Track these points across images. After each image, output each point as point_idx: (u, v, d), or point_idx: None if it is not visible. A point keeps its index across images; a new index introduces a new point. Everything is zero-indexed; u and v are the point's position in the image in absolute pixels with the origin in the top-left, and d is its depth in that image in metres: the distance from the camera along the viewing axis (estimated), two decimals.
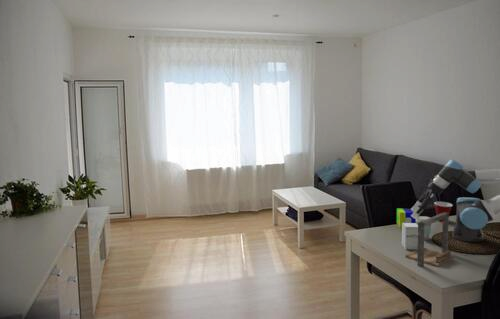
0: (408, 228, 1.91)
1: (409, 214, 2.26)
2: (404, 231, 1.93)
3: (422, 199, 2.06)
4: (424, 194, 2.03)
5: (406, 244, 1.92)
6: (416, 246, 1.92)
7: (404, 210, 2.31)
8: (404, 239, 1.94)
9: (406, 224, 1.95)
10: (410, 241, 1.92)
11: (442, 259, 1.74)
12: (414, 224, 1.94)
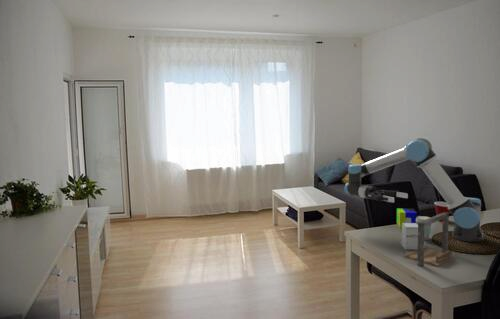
0: (408, 228, 1.91)
1: (409, 214, 2.26)
2: (404, 231, 1.93)
3: (391, 194, 2.12)
4: None
5: (406, 244, 1.92)
6: (416, 246, 1.92)
7: (404, 210, 2.31)
8: (404, 239, 1.94)
9: (406, 224, 1.95)
10: (410, 241, 1.92)
11: (442, 259, 1.74)
12: (414, 224, 1.94)
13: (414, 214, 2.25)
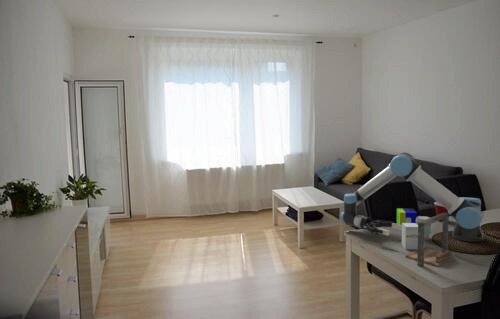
0: (408, 228, 1.91)
1: (409, 214, 2.26)
2: (404, 231, 1.93)
3: (387, 225, 2.12)
4: None
5: (406, 244, 1.92)
6: (416, 246, 1.92)
7: (404, 210, 2.31)
8: (404, 239, 1.94)
9: (406, 224, 1.95)
10: (410, 241, 1.92)
11: (442, 259, 1.74)
12: (414, 224, 1.94)
13: (414, 214, 2.25)
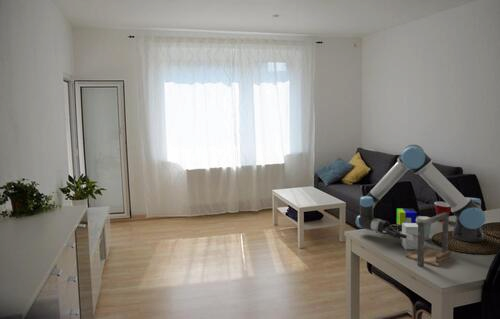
0: (408, 228, 1.91)
1: (409, 214, 2.26)
2: (404, 231, 1.93)
3: None
4: None
5: (406, 244, 1.92)
6: (416, 246, 1.92)
7: (404, 210, 2.31)
8: (404, 239, 1.94)
9: (406, 224, 1.95)
10: (410, 241, 1.92)
11: (442, 259, 1.74)
12: (414, 224, 1.94)
13: (414, 214, 2.25)
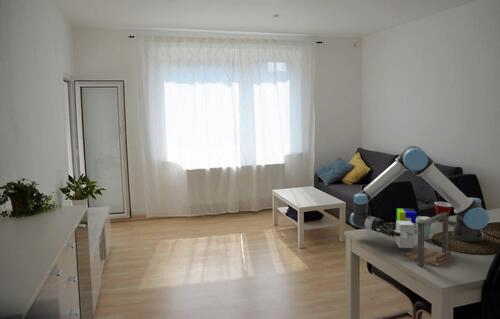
0: (402, 225, 1.87)
1: (409, 214, 2.26)
2: (398, 229, 1.89)
3: None
4: (391, 230, 1.99)
5: (400, 242, 1.88)
6: (410, 244, 1.88)
7: (404, 210, 2.31)
8: (398, 237, 1.90)
9: (400, 222, 1.91)
10: (404, 239, 1.88)
11: (442, 259, 1.74)
12: (408, 222, 1.90)
13: (414, 214, 2.25)
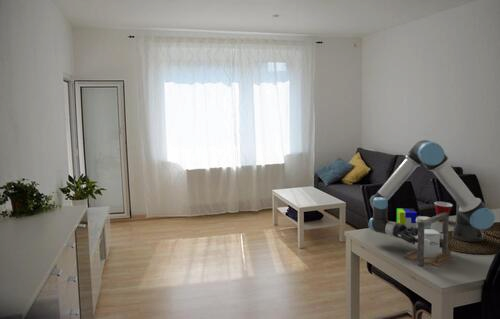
0: (427, 234, 1.77)
1: (409, 214, 2.26)
2: None
3: None
4: (414, 235, 1.89)
5: (425, 252, 1.78)
6: (436, 254, 1.77)
7: (404, 210, 2.31)
8: None
9: (425, 230, 1.81)
10: (429, 248, 1.77)
11: (442, 259, 1.74)
12: (433, 230, 1.80)
13: (414, 214, 2.25)
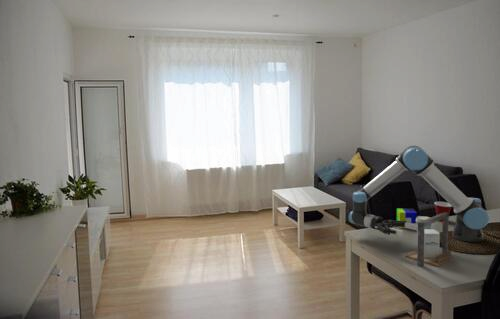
0: (427, 234, 1.77)
1: (409, 214, 2.26)
2: None
3: (399, 225, 1.99)
4: (390, 227, 2.00)
5: (425, 252, 1.78)
6: (436, 254, 1.77)
7: (404, 210, 2.31)
8: None
9: (425, 230, 1.81)
10: (429, 248, 1.77)
11: (442, 259, 1.74)
12: (433, 230, 1.80)
13: (414, 214, 2.25)
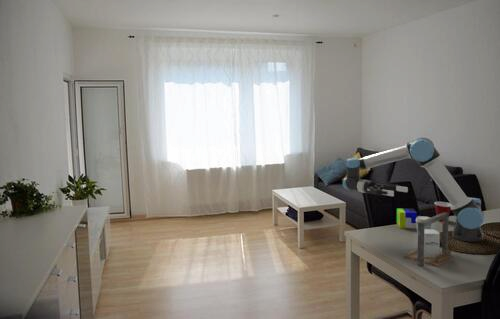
0: (427, 234, 1.77)
1: (409, 214, 2.26)
2: None
3: (391, 188, 2.06)
4: None
5: (425, 252, 1.78)
6: (436, 254, 1.77)
7: (404, 210, 2.31)
8: None
9: (425, 230, 1.81)
10: (429, 248, 1.77)
11: (442, 259, 1.74)
12: (433, 230, 1.80)
13: (414, 214, 2.25)
